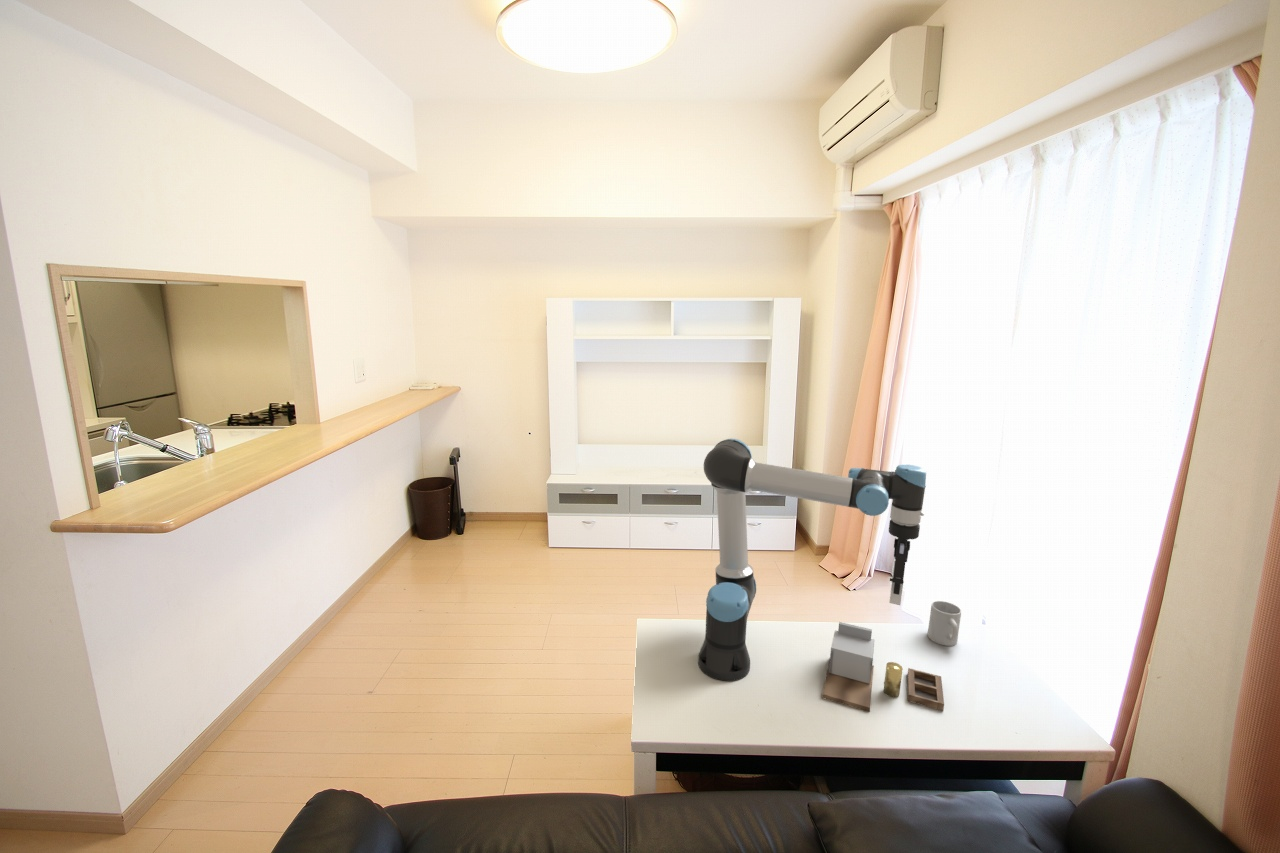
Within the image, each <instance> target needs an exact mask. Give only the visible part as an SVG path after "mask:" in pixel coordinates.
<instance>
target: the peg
mask: <svg viewBox="0 0 1280 853" xmlns="http://www.w3.org/2000/svg"><path fill="white" fill-rule="evenodd" d="M903 670H904V669H903V666H902V665H901V664H900V663H897V662H895V661H894V662H893V661H889V662H887V663H886V666H885V675H884V684H883V690H882V691H883V693H884V694H885V695H886V696H888V697H890V698H894V699H895V698H896V699H897V698H898V697H900V692H901V684H902V677H903V676H902V675H903Z"/></svg>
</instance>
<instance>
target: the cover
mask: <svg viewBox="0 0 1280 853" xmlns="http://www.w3.org/2000/svg"><path fill="white" fill-rule="evenodd" d="M837 629H838V630H836V629H835V630H834V633H833V638H832V642H831V647H830V653H829V654H830V657H829V661H830V664H829V663H828V665H829V673H832V674H836V675H839V676H843V677H847V678H850V679H854V680H858V681H861V682H865V683H869V684H870V681H871V672H872V665H873V662H874V652H875V641H876V640H875V638H874V639H873V638H872V634H873V629H872V628H868V627H863V626H859V625H855V624H850V623H847V622H842V621H839V622H838V628H837Z"/></svg>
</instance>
